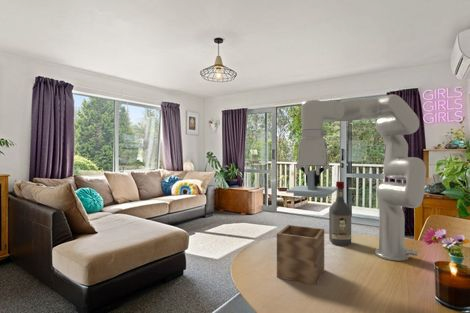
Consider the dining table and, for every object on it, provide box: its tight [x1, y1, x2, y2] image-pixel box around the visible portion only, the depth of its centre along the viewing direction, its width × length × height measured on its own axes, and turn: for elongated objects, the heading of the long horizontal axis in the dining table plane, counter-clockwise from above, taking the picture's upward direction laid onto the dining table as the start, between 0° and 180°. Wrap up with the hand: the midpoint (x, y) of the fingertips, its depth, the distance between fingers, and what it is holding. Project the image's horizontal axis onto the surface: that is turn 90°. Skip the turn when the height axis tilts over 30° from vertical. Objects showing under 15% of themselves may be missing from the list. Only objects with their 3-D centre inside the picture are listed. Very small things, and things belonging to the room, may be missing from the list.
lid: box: [285, 169, 338, 199], centre depth 103 cm, size 15×15×9 cm
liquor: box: [328, 181, 352, 247], centre depth 140 cm, size 9×9×30 cm
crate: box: [276, 224, 325, 286], centre depth 105 cm, size 14×14×16 cm
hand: (312, 185), depth 104 cm, fingers closed on lid
